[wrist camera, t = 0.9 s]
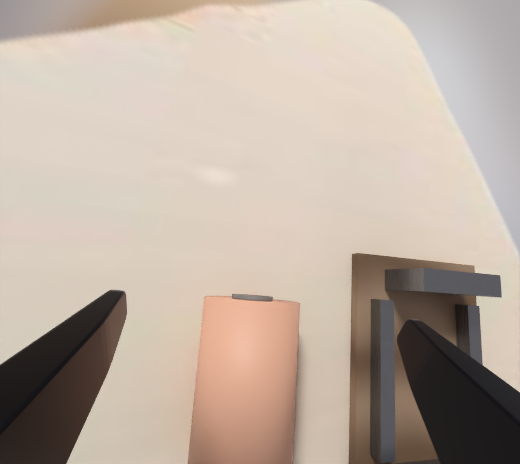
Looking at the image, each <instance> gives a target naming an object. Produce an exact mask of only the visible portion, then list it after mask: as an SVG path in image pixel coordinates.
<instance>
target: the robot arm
mask: <svg viewBox="0 0 520 464" xmlns="http://www.w3.org/2000/svg"><path fill="white" fill-rule="evenodd" d="M126 315H127V304H126V293H125V292H124V291H120V290H109V291H108V292H106V293H105V294H103V295H102V296H100V297H99V298H97V299H96V300H94V301H93V302H91V303H90V304H89V305H87V306H86V307H84V308H83V309H81V310H80V311H78V312H77V313H75V314H74V315H72V316H71V317H69V318H68V319H67V320H65V321H64V322H62V323H61V324H59V325H58V326H56V327H55V328H53V329H52V330H50V331H49V332H47V333H46V334H45V335H43V336H42V337H40V338H39V339H37V340H36V341H34V342H33V343H31V344H30V345H28V346H27V347H25V348H24V349H23V350H21V351H20V352H18V353H17V354H15V355H14V356H12V357H11V358H9V359H8V360H6V361H5V362H3V363H2V364H1V365H0V464H66V463H67V461H68V459H69V456H70V454H71V452H72V450H73V448H74V446H75V443H76V441H77V439H78V437H79V435H80V432H81V430H82V428H83V426H84V424H85V421H86V419H87V417H88V415H89V413H90V410H91V408H92V406H93V404H94V402H95V400H96V397H97V395H98V393H99V391H100V389H101V386H102V384H103V382H104V380H105V378H106V375H107V373H108V371H109V368H110V365H111V362H112V360H113V357H114V353H115V350H116V347H117V344H118V341H119V338H120V335H121V332H122V329H123V326H124V323H125V320H126ZM397 345H398V348H399V351H400V355H401V358H402V362H403V365H404V369H405V372H406V375H407V379H408V382H409V385H410V388H411V391H412V394H413V396H414V399H415V401H416V404H417V406H418V409H419V412H420V414H421V417H422V419H423V422H424V424H425V427H426V429H427V432H428V434H429V437H430V439H431V442H432V444H433V447H434V449H435V452H436V454H437V457H438V459H439V462H440V464H520V392H518V391H517V390H516V389H514V388H513V387H512V386H510V385H509V384H507V383H506V382H505V381H503V380H502V379H501V378H499V377H498V376H496V375H495V374H494V373H492V372H491V371H490V370H488V369H487V368H486V367H484V366H483V365H481V364H480V363H479V362H477V361H476V360H475V359H473V358H472V357H471V356H469V355H468V354H466V353H465V352H464V351H462V350H461V349H460V348H458V347H457V346H455V345H454V344H453V343H451V342H450V341H449V340H447V339H446V338H445V337H443V336H442V335H440V334H439V333H438V332H436V331H435V330H434V329H432V328H431V327H429V326H428V325H427V324H425V323H424V322H423V321H421V320H417V319H407V320H406V321H405V323H404V325H403V326H402V328H401V330H400V332H399V333H398V335H397Z"/></svg>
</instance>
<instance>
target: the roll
mask: <svg viewBox="0 0 520 464" xmlns="http://www.w3.org/2000/svg"><path fill="white" fill-rule="evenodd" d="M299 312H300V303H297V302H291V301H283V300H274V299H273V297H269V296H259V295H244V294H232V297H231V296H205V297H204V305H203V315H202V325H201V335H200V345H199V355H198V365H197V375H196V385H195V395H194V405H193V415H192V425H191V435H190V445H189V455H188V464H293V445H294V423H295V401H296V379H297V357H298V335H299Z"/></svg>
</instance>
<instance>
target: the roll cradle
mask: <svg viewBox="0 0 520 464" xmlns="http://www.w3.org/2000/svg"><path fill="white" fill-rule="evenodd" d="M476 296H486V297H502V295H501V281H500V276H499V275H489V274H480V273H475V271H474V266H470V265H461V264H452V263H443V262H434V261H425V260H415V259H406V258H397V257H388V256H379V255H370V254H361V253H356V254H352V307H351V370H350V433H349V464H440V462H439V459H438V457H437V454H436V452H435V449H434V447H433V444H432V442H431V439H430V437H429V434H428V432H427V429H426V427H425V424H424V422H423V419H422V417H421V414H420V412H419V409H418V406H417V404H416V401H415V399H414V396H413V394H412V391H411V388H410V385H409V382H408V379H407V375H406V372H405V369H404V365H403V362H402V358H401V355H400V351H399V348H398V345H397V335H398V333H399V332H400V330H401V328H402V326H403V325H404V323H405V321H406V320H407V319H417V320H421V321H423V322H424V323H425V324H427V325H428V326H429V327H431V328H432V329H434V330H435V331H436V332H438V333H439V334H440V335H442V336H443V337H445V338H446V339H447V340H449V341H450V342H451V343H453V344H454V345H455V346H457V347H458V348H460V349H461V350H462V351H464V352H465V353H466V354H468V355H469V356H471V357H472V358H473V359H475V360H476V361H477V362H479V363H480V364H481V365H482V348H481V331H480V313H479V306H476Z"/></svg>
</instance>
